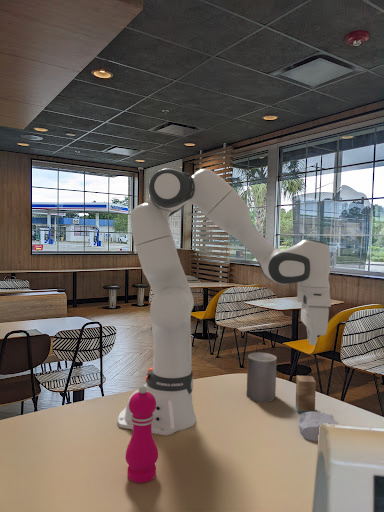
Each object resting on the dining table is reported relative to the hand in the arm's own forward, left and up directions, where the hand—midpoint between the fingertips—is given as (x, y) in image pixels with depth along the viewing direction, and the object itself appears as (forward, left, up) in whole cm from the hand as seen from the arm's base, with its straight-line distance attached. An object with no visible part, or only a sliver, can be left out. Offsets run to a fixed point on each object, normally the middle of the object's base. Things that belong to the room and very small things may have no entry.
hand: (311, 343), depth 112 cm
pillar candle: (-13, +17, -23) cm, 32 cm away
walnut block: (0, +8, -23) cm, 24 cm away
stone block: (+1, -5, -24) cm, 24 cm away
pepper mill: (-42, -32, -23) cm, 58 cm away
